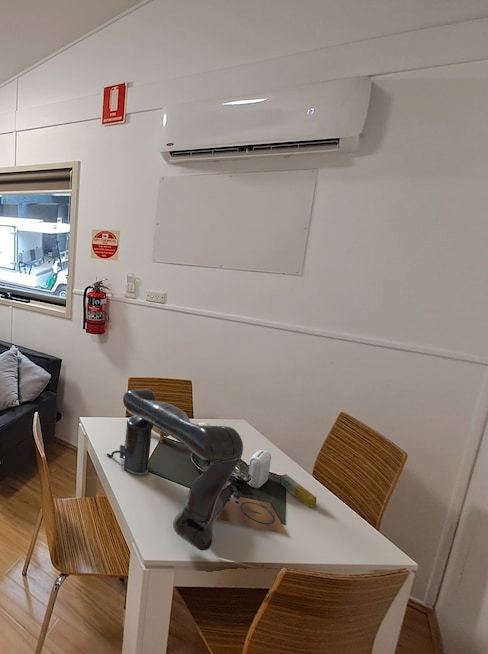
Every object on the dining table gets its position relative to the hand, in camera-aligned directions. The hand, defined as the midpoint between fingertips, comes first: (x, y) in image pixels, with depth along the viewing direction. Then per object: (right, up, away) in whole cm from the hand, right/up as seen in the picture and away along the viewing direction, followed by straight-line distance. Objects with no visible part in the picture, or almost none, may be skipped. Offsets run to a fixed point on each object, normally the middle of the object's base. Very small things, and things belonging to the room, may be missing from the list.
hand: (225, 476), depth 134 cm
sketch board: (+2, -9, -7) cm, 11 cm away
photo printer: (+17, -6, +8) cm, 20 cm away
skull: (+11, -1, +35) cm, 36 cm away
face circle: (+6, -8, -7) cm, 13 cm away
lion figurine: (-9, -1, +35) cm, 36 cm away
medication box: (+27, -8, +1) cm, 28 cm away
